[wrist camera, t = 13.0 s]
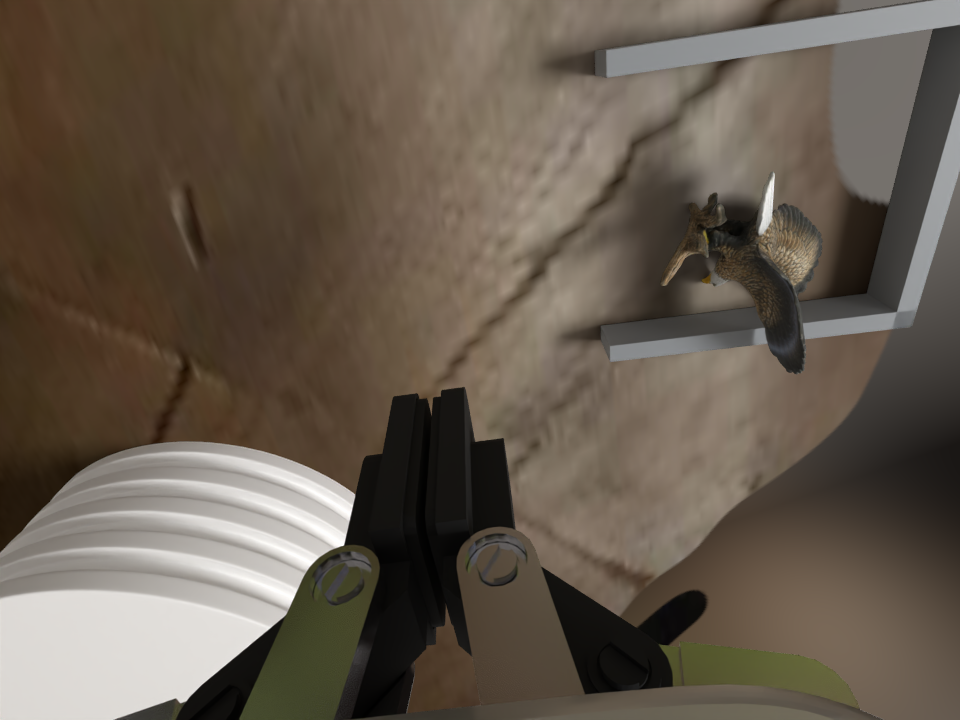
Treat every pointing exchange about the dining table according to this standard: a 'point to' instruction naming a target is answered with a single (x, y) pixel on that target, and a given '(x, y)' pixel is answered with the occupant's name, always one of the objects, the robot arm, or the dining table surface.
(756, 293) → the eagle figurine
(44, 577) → the plate stack
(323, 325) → the dining table surface
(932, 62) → the gray frame
